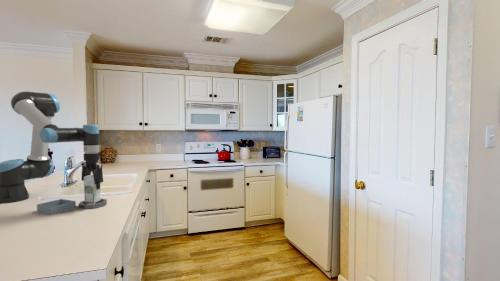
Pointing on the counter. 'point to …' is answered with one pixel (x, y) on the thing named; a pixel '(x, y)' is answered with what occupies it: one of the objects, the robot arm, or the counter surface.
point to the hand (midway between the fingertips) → (92, 194)
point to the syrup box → (90, 190)
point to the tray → (56, 206)
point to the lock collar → (90, 206)
